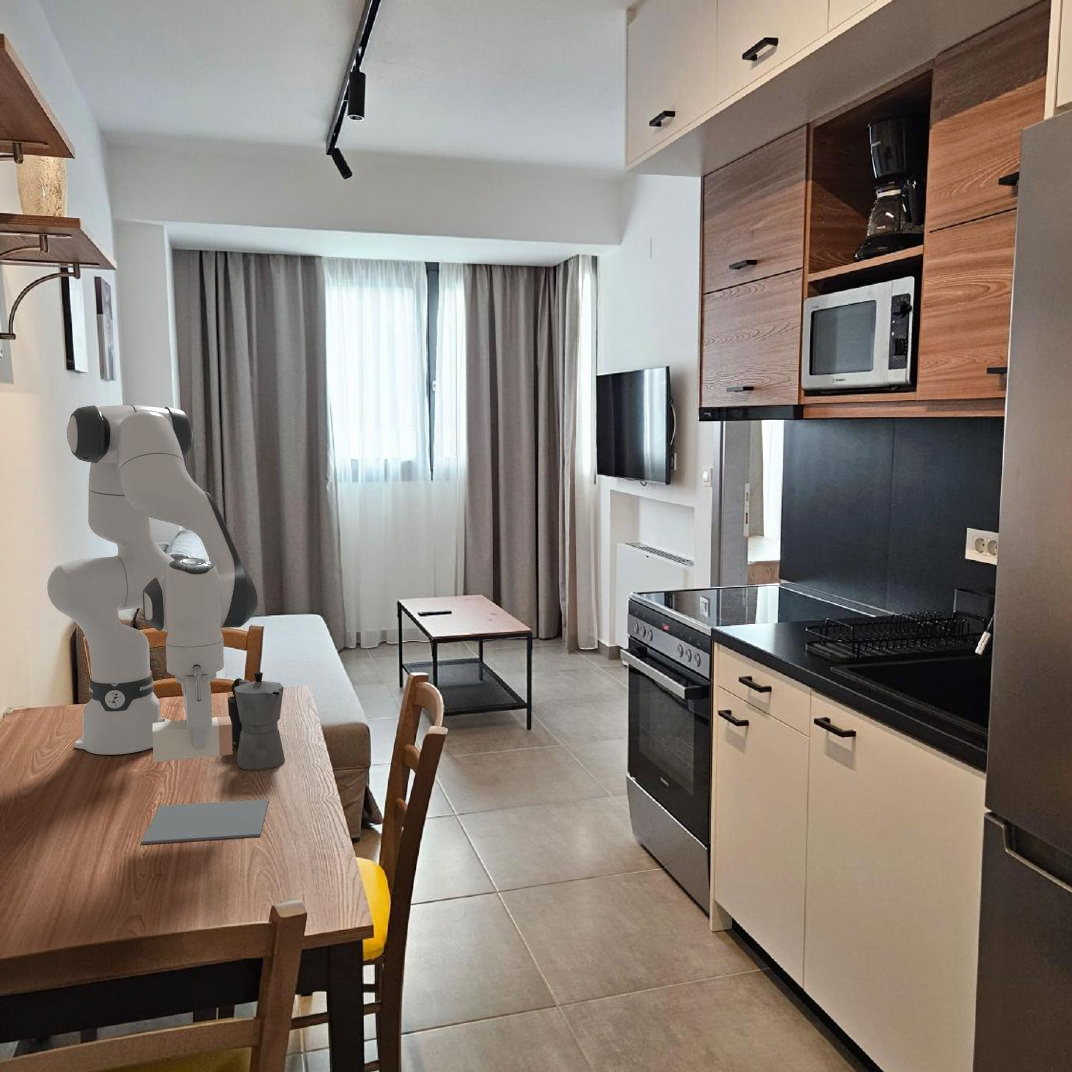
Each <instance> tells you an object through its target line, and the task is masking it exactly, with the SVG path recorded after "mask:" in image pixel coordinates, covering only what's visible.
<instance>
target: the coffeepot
mask: <svg viewBox="0 0 1072 1072" xmlns="http://www.w3.org/2000/svg"><path fill="white" fill-rule="evenodd" d="M253 674H254V679H255V680H254V681H250V680H247V679H242V678H235V680H234V681H233V683H232V684H231V693H232V696H234V701H235V706H236V710H237V714H238V718H239V719H240V721H241V723H242V731H241V733H240V740H239V747H238V750H237V755H236V765H237V767H239V768H240V769H243V770H246V771H248V770H249V771H263V770H269V769H274V768H276V767H279V766H281V765H283V763H284V762H285V761H286V759H285V753H284V748H283V743H282V738H281V734H280V729H279V727H278V725H279V723H278V721H279V720H280V719H281V712H282V705H283V704H282V703H283V696H284V689H285V687H284V685H282V684H281V683H280V682H275V681H265V680H263V675H264V673H263V672H261V671H257V672H254V673H253Z"/></svg>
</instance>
